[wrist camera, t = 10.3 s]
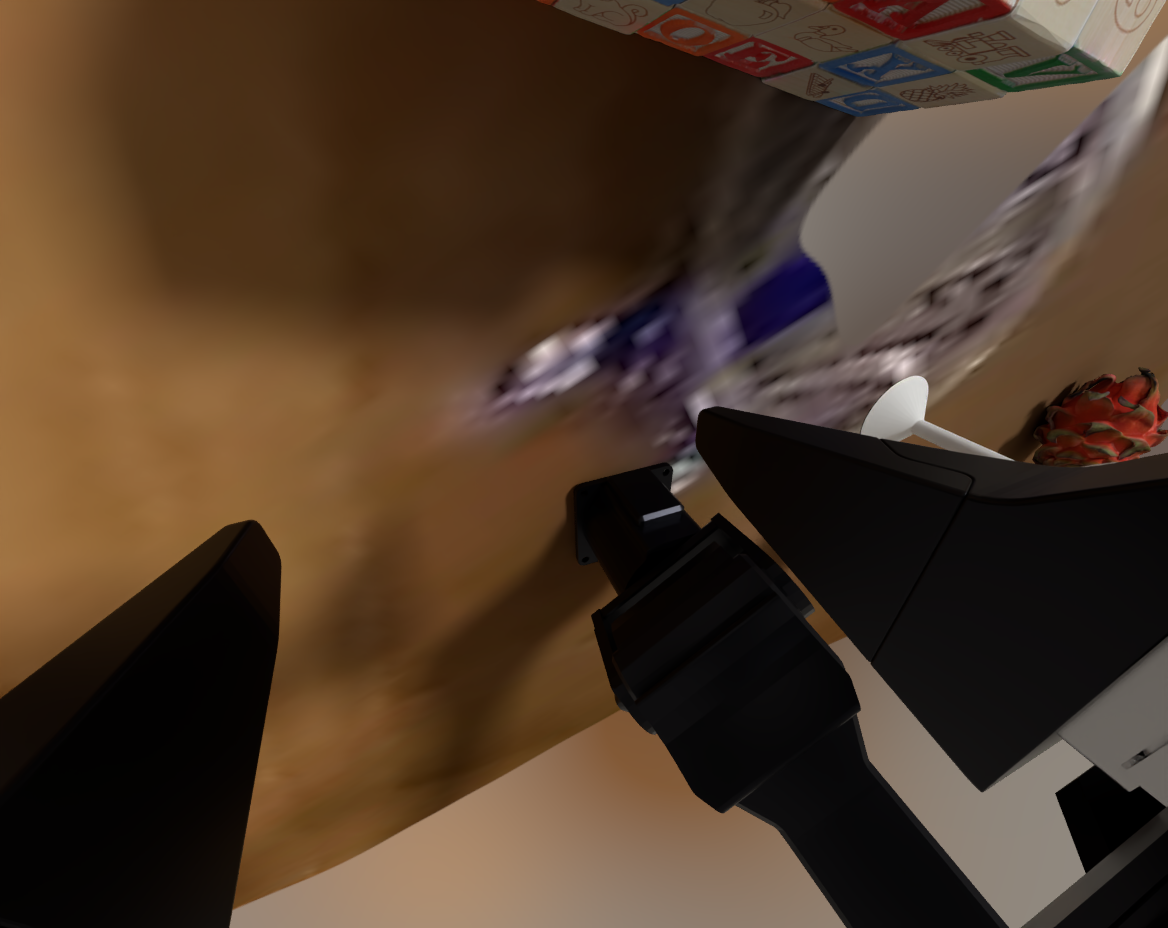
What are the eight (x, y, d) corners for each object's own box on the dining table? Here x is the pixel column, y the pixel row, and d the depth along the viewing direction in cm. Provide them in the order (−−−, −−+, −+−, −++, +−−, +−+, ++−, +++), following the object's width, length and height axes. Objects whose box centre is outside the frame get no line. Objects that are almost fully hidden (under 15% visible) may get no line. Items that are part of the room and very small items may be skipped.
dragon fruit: (985, 460, 48) (1048, 354, 45) (1065, 483, 47) (1135, 377, 44) (1050, 482, 40) (1133, 355, 37) (1148, 510, 39) (1242, 384, 36)
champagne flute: (854, 465, 36) (1373, 778, 17) (866, 398, 31) (1570, 716, 13) (918, 430, 36) (1476, 691, 18) (937, 361, 32) (1692, 608, 14)
